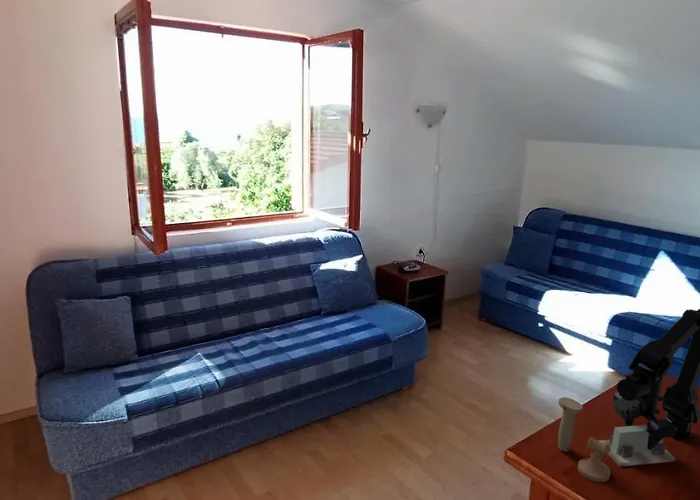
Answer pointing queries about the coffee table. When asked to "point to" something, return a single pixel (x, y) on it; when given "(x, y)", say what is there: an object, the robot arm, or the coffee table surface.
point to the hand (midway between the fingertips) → (638, 438)
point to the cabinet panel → (639, 455)
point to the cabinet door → (631, 438)
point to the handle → (567, 422)
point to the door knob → (595, 462)
